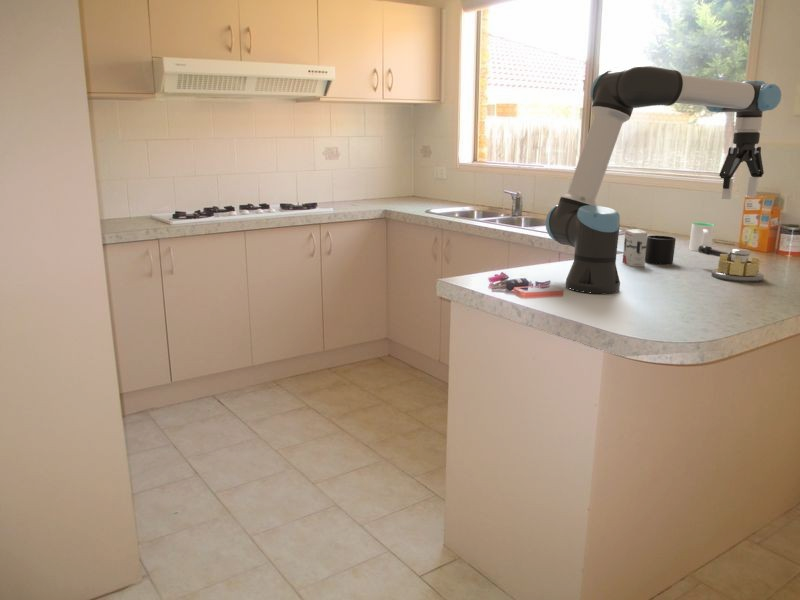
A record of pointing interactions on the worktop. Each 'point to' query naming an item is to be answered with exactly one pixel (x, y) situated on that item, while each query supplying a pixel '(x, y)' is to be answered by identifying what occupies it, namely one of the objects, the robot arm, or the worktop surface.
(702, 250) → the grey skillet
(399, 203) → the worktop surface
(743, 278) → the flange
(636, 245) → the ink box
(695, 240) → the mug
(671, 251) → the mug
